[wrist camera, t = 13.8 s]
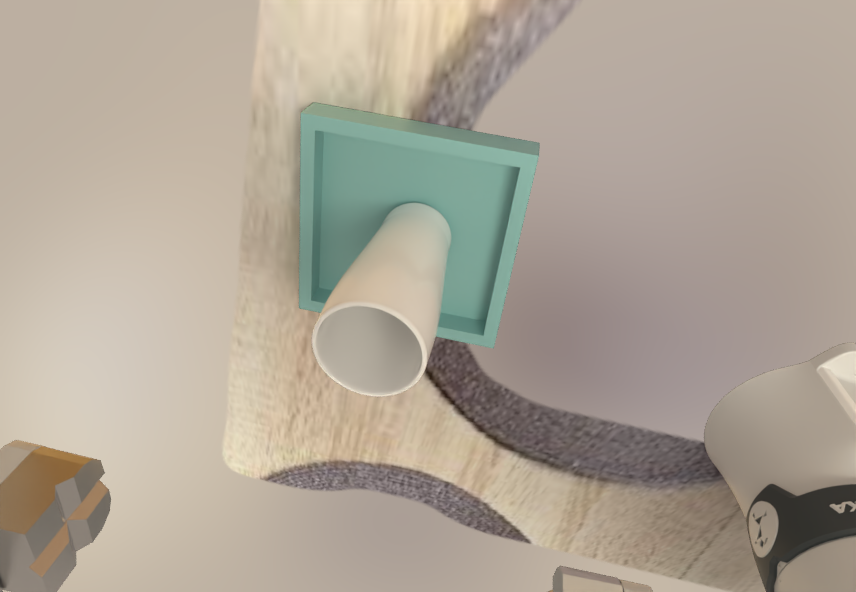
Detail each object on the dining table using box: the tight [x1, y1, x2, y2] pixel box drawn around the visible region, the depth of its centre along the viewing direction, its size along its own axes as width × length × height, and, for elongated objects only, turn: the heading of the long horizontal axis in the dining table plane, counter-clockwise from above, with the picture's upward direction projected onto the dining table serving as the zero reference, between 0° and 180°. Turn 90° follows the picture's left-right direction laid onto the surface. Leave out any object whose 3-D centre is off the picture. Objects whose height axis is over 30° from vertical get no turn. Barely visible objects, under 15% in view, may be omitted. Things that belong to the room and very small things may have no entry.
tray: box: [299, 102, 539, 348], centre depth 46 cm, size 16×16×3 cm
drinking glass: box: [312, 203, 451, 397], centre depth 40 cm, size 7×7×15 cm
